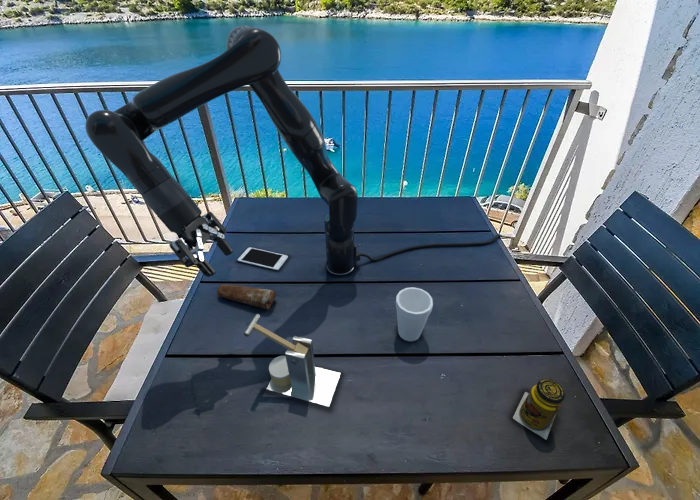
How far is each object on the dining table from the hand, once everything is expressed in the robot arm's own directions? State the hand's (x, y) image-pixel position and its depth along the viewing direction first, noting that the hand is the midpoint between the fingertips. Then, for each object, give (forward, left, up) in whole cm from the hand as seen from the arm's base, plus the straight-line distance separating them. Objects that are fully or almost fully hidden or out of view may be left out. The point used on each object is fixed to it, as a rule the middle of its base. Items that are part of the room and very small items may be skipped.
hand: (221, 263), depth 79 cm
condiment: (-52, +53, -28) cm, 79 cm away
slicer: (-9, +20, -28) cm, 35 cm away
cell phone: (-15, -31, -28) cm, 44 cm away
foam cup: (-41, +20, -28) cm, 54 cm away
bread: (-4, -14, -28) cm, 32 cm away
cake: (-5, +16, -27) cm, 32 cm away
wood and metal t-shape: (-5, +16, -13) cm, 21 cm away
